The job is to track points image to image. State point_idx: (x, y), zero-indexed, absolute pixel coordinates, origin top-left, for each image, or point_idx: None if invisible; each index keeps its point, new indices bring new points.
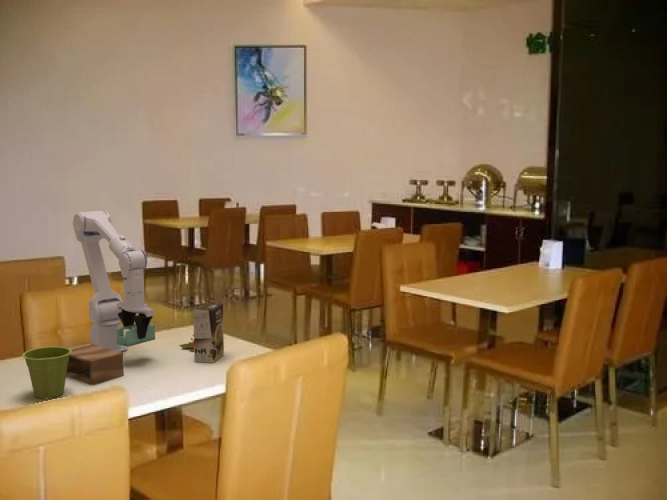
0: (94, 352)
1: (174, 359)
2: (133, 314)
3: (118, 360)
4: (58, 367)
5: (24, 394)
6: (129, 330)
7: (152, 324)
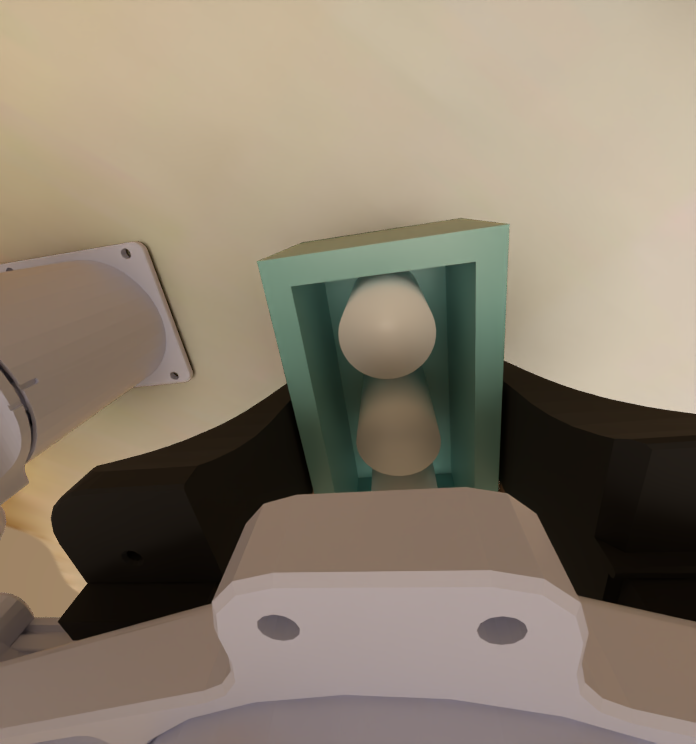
0: None
1: (530, 100)
2: (242, 500)
3: None
4: None
5: None
6: None
7: (470, 243)
